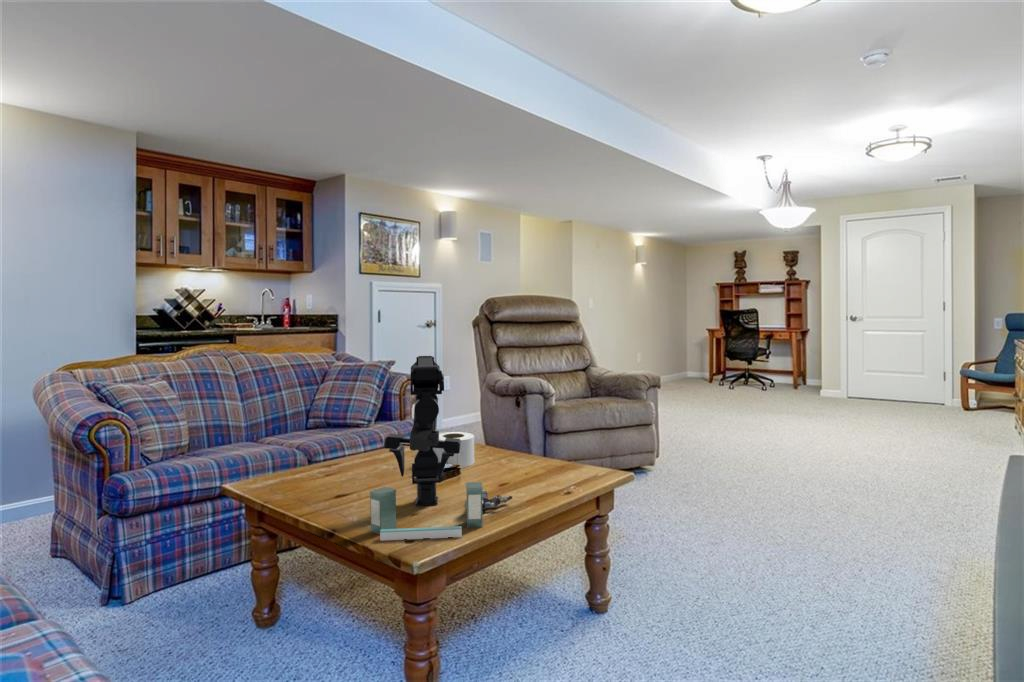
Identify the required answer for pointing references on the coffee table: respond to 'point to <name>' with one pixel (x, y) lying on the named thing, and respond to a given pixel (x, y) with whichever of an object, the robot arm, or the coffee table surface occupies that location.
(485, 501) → the toy
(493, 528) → the coffee table surface
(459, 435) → the object
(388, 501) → the tea tin
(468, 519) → the twin tin
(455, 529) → the rail
